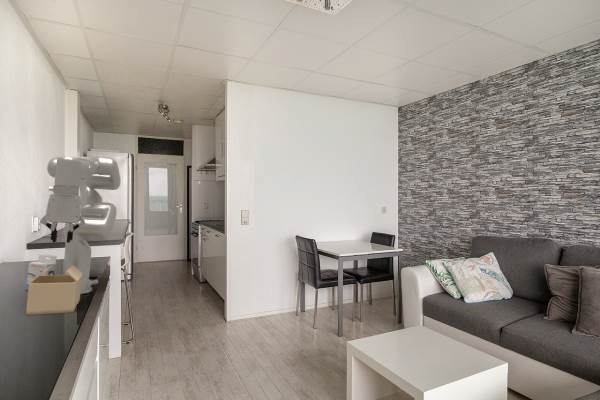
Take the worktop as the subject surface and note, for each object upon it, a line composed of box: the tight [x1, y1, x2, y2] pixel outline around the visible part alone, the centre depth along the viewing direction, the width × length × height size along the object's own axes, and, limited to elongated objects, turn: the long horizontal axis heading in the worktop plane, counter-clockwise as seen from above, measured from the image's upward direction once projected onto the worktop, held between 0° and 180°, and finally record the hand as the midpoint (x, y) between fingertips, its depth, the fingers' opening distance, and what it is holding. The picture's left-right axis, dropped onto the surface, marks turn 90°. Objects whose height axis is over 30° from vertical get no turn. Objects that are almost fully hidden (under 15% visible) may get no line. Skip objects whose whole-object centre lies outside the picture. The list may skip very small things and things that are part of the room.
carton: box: [25, 274, 82, 316], centre depth 120 cm, size 16×13×10 cm
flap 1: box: [29, 265, 52, 283], centre depth 119 cm, size 5×14×1 cm
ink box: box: [25, 253, 57, 290], centre depth 141 cm, size 9×5×15 cm, turn 84°
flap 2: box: [66, 265, 83, 282], centre depth 123 cm, size 5×14×1 cm
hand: (61, 241), depth 121 cm, fingers open, 3 cm apart
